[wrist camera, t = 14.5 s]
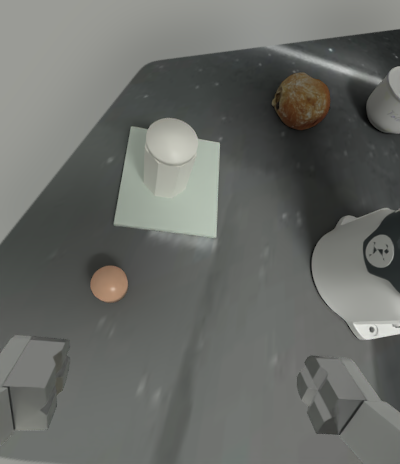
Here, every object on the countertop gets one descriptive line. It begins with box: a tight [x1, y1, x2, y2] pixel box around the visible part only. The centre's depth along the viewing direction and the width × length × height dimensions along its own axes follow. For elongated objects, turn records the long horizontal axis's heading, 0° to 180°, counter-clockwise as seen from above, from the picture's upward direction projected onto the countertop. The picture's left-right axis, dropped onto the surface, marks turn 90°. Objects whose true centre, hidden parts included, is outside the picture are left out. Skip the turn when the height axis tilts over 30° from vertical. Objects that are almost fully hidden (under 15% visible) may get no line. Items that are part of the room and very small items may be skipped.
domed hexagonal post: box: [144, 118, 198, 198], centre depth 35 cm, size 6×6×9 cm
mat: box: [114, 126, 220, 238], centre depth 40 cm, size 14×16×1 cm
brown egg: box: [91, 266, 128, 303], centre depth 32 cm, size 4×4×3 cm
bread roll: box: [272, 72, 330, 130], centre depth 49 cm, size 10×10×8 cm
